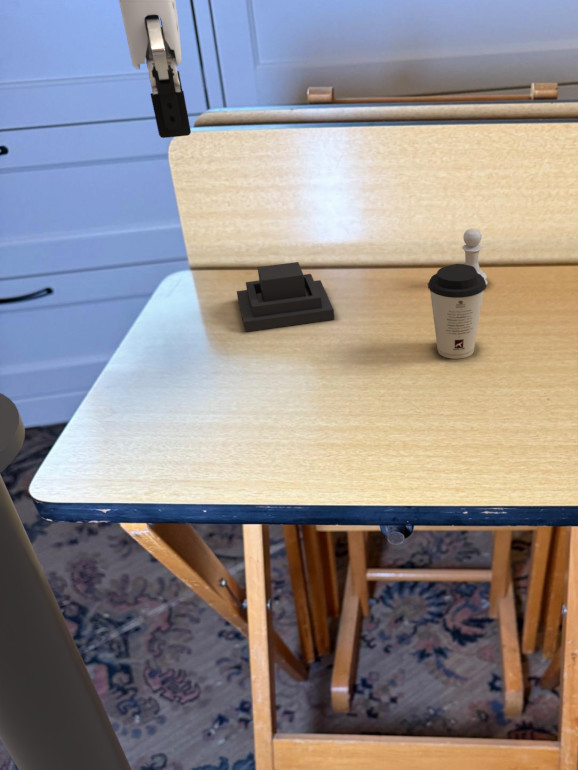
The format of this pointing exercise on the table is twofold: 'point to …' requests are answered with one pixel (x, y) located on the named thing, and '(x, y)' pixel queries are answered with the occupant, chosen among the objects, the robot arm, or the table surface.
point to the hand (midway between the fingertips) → (173, 124)
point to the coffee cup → (456, 308)
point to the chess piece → (473, 250)
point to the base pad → (284, 307)
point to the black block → (281, 281)
